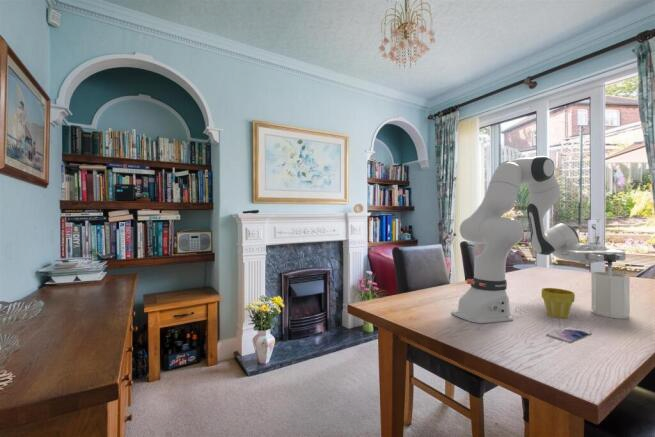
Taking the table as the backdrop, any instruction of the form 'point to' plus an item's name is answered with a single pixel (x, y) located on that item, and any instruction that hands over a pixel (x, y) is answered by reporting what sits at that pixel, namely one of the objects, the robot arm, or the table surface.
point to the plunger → (609, 261)
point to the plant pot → (557, 301)
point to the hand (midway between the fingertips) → (611, 257)
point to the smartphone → (568, 334)
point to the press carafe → (610, 295)
